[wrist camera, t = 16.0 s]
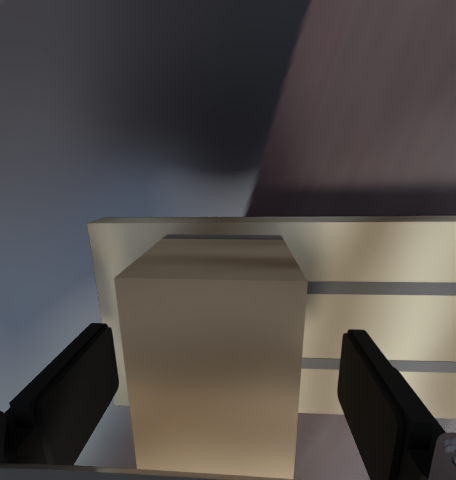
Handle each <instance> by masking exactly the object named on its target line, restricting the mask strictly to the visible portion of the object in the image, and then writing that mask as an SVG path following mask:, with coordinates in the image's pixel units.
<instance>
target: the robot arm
mask: <svg viewBox="0 0 456 480" xmlns="http://www.w3.org/2000/svg"><path fill="white" fill-rule="evenodd" d="M118 387H119V377H118V370H117V362H116V355H115V348H114V341H113V333H112V329H111V327H108V325H107V324H106V323H91V324H90V325H89V326H88V327H87V328H86V329H85V330H84V331H83V332H82V333H81V334H80V335H79V336H78V337H77V338H75V339H74V340H73V341H72V342H71V343H70V344H69V345H68V346H67V347H66V348H65V349H64V350H63V351H62V352H61V353H60V354H59V355H58V356H57V357H56V358H55V359H54V360H53V361H52V362H51V363H50V364H49V365H48V366H47V367H46V368H45V369H44V370H43V371H42V372H41V373H40V374H38V375H37V376H36V377H35V378H34V379H33V380H32V382H30V383H29V384H28V385H27V386H26V387H25V388H24V389H23V390H22V391H21V392H20V393H19V394H18V395H17V396H16V397H15V398H14V399H13V400H12V401H11V402H10V403H9V404H10V408H9V409H8V410H7V411H6V412H5V413H3V412H2V411H0V480H299V479H285V478H271V477H256V476H242V475H226V474H210V473H195V472H179V471H162V470H146V469H128V468H110V467H92V466H75V465H74V463H75V462H76V460H77V458H78V457H79V455H80V453H81V451H82V450H83V448H84V446H85V444H86V443H87V441H88V440H89V438H90V436H91V434H92V433H93V431H94V429H95V428H96V426H97V424H98V423H99V421H100V419H101V418H102V416H103V414H104V413H105V411H106V409H107V407H108V406H109V404H110V402H111V401H112V399H113V397H114V396H115V394H116V392H117V390H118ZM337 395H338V400H339V403H340V405H341V408H342V410H343V413H344V415H345V418H346V420H347V423H348V425H349V428H350V430H351V433H352V435H353V438H354V440H355V443H356V445H357V448H358V450H359V452H360V455H361V457H362V460H363V462H364V465H365V467H366V470H367V472H368V475H369V477H370V480H456V433H446V432H445V431H444V430H443V428H442V427H441V426H440V424H439V423H438V422H437V420H436V419H435V418H434V416H433V415H432V414H431V413H430V411H429V410H428V409H427V407H426V406H425V405H424V403H423V402H422V401H421V399H420V398H419V397H418V395H417V394H416V393H415V392H414V390H413V389H412V388H411V386H410V385H409V384H408V382H407V381H406V380H405V378H404V377H403V376H402V375H401V373H400V372H399V371H398V370H397V369H396V368H395V367H393V366H392V365H391V364H390V362H389V361H388V360H387V358H386V357H385V356H384V354H383V353H382V352H381V350H380V349H379V348H378V346H377V345H376V344H375V342H374V341H373V340H372V338H371V337H370V336H369V334H368V333H367V332H366V331H365V330H360V329H349V330H348V332H347V333H344V334H343V337H342V347H341V357H340V367H339V377H338V386H337Z"/></svg>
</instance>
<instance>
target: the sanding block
mask: <svg viewBox="0 0 456 480" xmlns="http://www.w3.org/2000/svg"><path fill="white" fill-rule="evenodd" d="M114 282H115V291H116V299H117V307H118V315H119V324H120V332H121V340H122V349H123V357H124V365H125V374H126V382H127V390H128V398H129V407H130V415H131V423H132V432H133V440H134V447H135V457H136V465H137V469H146V470H162V471H179V472H195V473H210V474H226V475H242V476H256V477H271V478H285V479H293V476H294V462H295V449H296V435H297V422H298V408H299V394H300V381H301V367H302V353H303V340H304V326H305V313H306V299H307V285H308V281H307V279H306V277H305V276H304V274H303V272H302V270H301V269H300V267H299V265H298V263H297V262H296V260H295V258H294V257H293V255H292V253H291V251H290V250H289V248H288V246H287V244H286V243H285V241H284V239H283V237H282V236H281V235H189V234H167V235H166V236H165V237H163V238H162V239H161V240H160V241H158V242H157V243H156V244H155V245H154V246H152V247H151V248H150V249H149V250H147V251H146V252H145V253H144V254H143V255H141V256H140V257H139V258H138V259H136V260H135V261H134V262H133V263H132V264H130V265H129V266H128V267H127V268H126V269H124V270H123V271H122V272H121V273H119V274H118V275H117V276H116V277H115V278H114Z"/></svg>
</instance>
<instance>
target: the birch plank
mask: <svg viewBox="0 0 456 480" xmlns="http://www.w3.org/2000/svg"><path fill="white" fill-rule="evenodd" d="M87 226H88V233H89V240H90V247H91V253H92V260H93V267H94V274H95V280H96V287H97V294H98V300H99V307H100V314H101V320H102V323H106V324H107V325H108V327H111V329H112V333H113V341H114V348H115V355H116V362H117V370H118V377H119V387H118V390H117V392H116V394H115V396H114V397H113V400H114V405H115V406H129V398H128V390H127V382H126V374H125V365H124V357H123V349H122V340H121V332H120V324H119V315H118V307H117V299H116V291H115V282H114V278H115V277H116V276H117V275H118V274H119V273H121V272H122V271H123V270H124V269H126V268H127V267H128V266H129V265H130V264H132V263H133V262H134V261H135V260H136V259H138V258H139V257H140V256H141V255H143V254H144V253H145V252H146V251H147V250H149V249H150V248H151V247H152V246H154V245H155V244H156V243H157V242H158V241H160V240H161V239H162V238H163V237H165V236H166V235H167V234H189V235H281V236H282V237H283V239H284V241H285V243H286V244H287V246H288V248H289V250H290V251H291V253H292V255H293V257H294V258H295V260H296V262H297V263H298V265H299V267H300V269H301V270H302V272H303V274H304V276H305V277H306V279H307V281H308V285H307V299H306V313H305V326H304V340H303V353H302V367H301V381H300V394H299V408H298V413H321V414H344V413H343V410H342V408H341V405H340V403H339V400H338V395H337V386H338V377H339V367H340V357H341V347H342V337H343V334H344V333H347V332H348V330H349V329H360V330H365V331H366V332H367V333H368V334H369V336H370V337H371V338H372V340H373V341H374V342H375V344H376V345H377V346H378V348H379V349H380V350H381V352H382V353H383V354H384V356H385V357H386V358H387V360H388V361H389V362H390V364H391V365H392V366H393V367H395V368H396V369H397V370H398V371H399V372H400V373H401V375H402V376H403V377H404V378H405V380H406V381H407V382H408V384H409V385H410V386H411V388H412V389H413V390H414V392H415V393H416V394H417V395H418V397H419V398H420V399H421V401H422V402H423V403H424V405H425V406H426V407H427V409H428V410H429V411H430V413H431V414H432V415H433V416H434V418H451V419H456V216H317V217H154V218H151V217H150V218H102V219H99V220H96V221H93V222H90V223H87Z"/></svg>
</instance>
